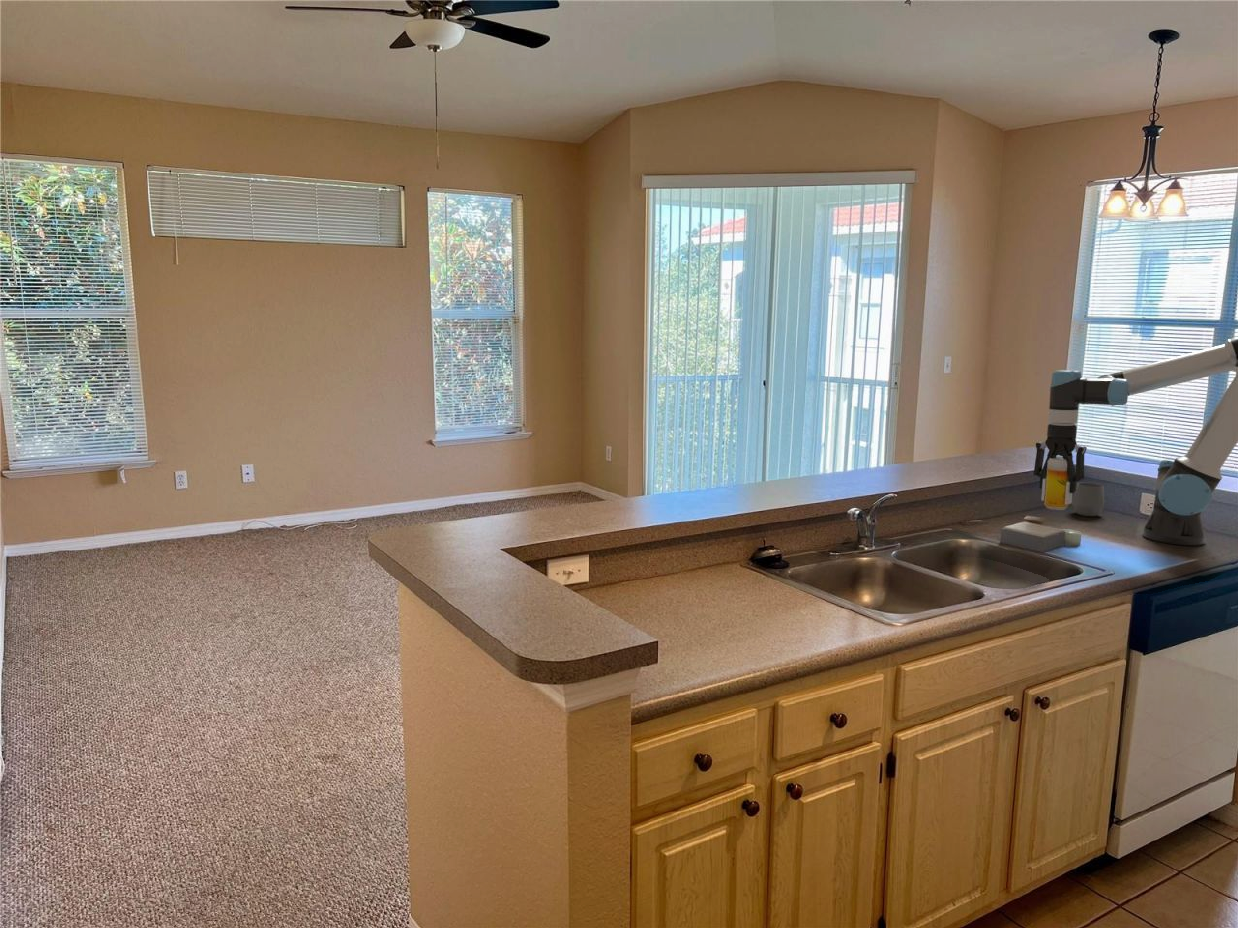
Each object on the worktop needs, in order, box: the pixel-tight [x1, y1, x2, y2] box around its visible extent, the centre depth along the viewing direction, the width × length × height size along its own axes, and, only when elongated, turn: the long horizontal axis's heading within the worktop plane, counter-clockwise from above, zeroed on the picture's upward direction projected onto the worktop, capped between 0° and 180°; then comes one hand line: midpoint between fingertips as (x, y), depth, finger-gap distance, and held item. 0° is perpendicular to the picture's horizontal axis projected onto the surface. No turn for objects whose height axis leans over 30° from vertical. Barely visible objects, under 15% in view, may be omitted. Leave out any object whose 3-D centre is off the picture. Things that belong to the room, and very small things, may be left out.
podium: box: [999, 521, 1065, 553], centre depth 237 cm, size 12×12×5 cm
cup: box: [1071, 481, 1105, 517], centre depth 274 cm, size 10×9×10 cm
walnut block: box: [1022, 515, 1046, 526], centre depth 247 cm, size 5×5×5 cm
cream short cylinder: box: [1062, 528, 1083, 547], centre depth 238 cm, size 6×6×4 cm
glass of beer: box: [1044, 456, 1069, 511], centre depth 247 cm, size 6×6×15 cm
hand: (1056, 501), depth 248 cm, fingers closed on glass of beer, 6 cm apart
